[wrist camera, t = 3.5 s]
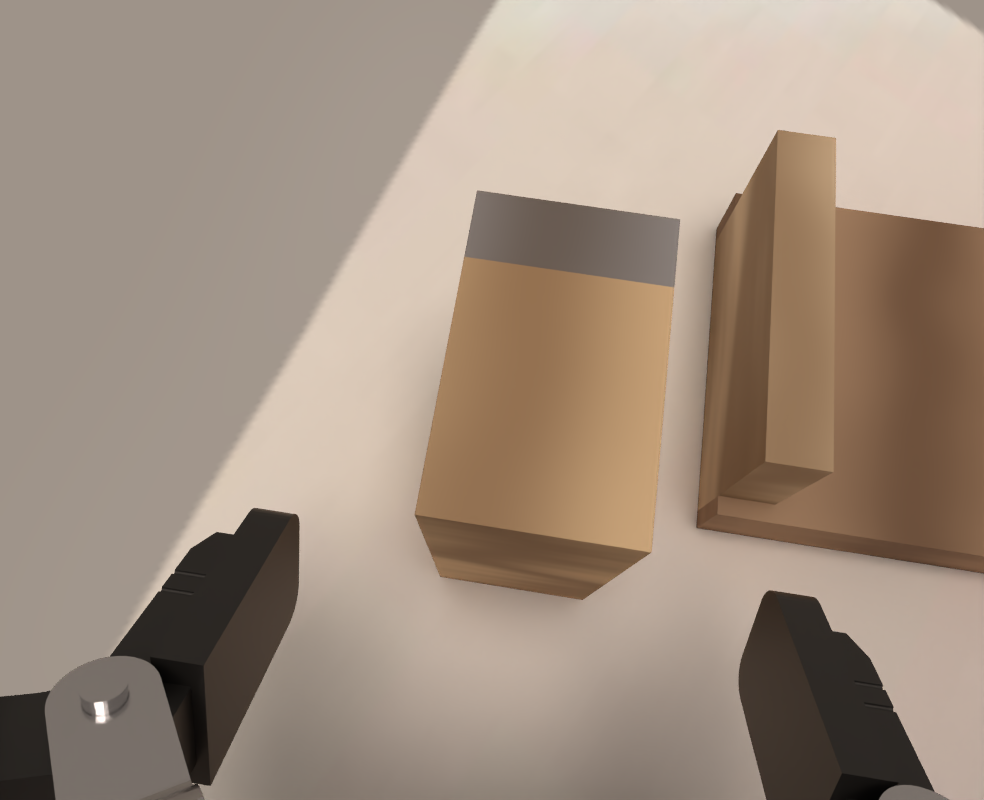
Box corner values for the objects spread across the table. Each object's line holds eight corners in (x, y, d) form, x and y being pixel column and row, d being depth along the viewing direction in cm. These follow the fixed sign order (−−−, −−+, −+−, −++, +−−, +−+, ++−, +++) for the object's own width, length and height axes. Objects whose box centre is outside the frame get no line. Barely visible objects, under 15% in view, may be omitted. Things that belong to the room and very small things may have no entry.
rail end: (607, 383, 23) (680, 219, 15) (582, 599, 21) (651, 552, 13) (478, 363, 23) (477, 190, 15) (440, 576, 21) (414, 514, 13)
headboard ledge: (1086, 282, 25) (1247, 179, 20) (1123, 595, 21) (1329, 571, 16) (716, 228, 25) (778, 114, 20) (696, 527, 22) (764, 483, 17)
